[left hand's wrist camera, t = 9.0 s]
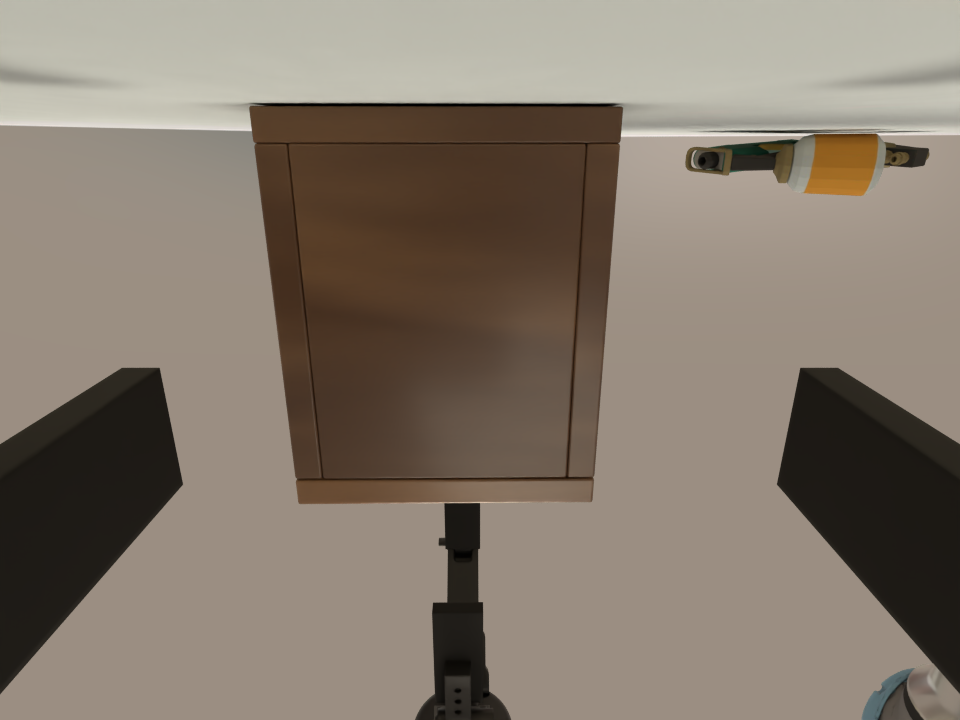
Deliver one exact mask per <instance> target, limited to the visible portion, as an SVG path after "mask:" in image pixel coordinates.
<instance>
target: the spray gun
mask: <svg viewBox="0 0 960 720" xmlns="http://www.w3.org/2000/svg"><path fill="white" fill-rule="evenodd" d="M694 150H697V151H696V153H695V155H694V158H693V159H694V164H695V166H696V167H697V168H701V169H697V168H693V167H692V166H691V158H692V153H693V152H694ZM928 157H929V149H928V148H916V147H909V146H901V145H895V144H894V143H888V142H883V140H882V139H881V138H880V136H879V135H878V134H813V135H808V136H804V137H803V138H801V139H800V140H793V139H790V140H778V141H770V142H759V143H747V144H735V145H723V146H716V147H709V148H704V147H693V148H690V149H689V150H688V152H687V155H686V168H687V169H688V170H689V171H694V172H703V173H713V174H721V175H729V172H737V171H749V170H773V173H774V174H775V176H776V178H777V181H778V183H786V182H787V184H788V185H789V186H790V187H791V189H792V190H794V191H797V192H800V193H811V194H832V195H854V196H862V195H866V194H867V193H868V192H869V191H871V190H872V189H873V188H874V187H875V186H876V185H877V183H878V181H879V179H880V176H881V174H882V171H883V168H886V167H890V166H898V167H918V166H924V165H925V162H926V160H927V159H928ZM706 169H709V170H706Z"/></svg>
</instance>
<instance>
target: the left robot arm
mask: <svg viewBox="0 0 960 720" xmlns="http://www.w3.org/2000/svg"><path fill="white" fill-rule="evenodd" d="M182 485H183V482H182V477H181V472H180V467H179V462H178V457H177V452H176V447H175V442H174V437H173V432H172V427H171V422H170V417H169V412H168V408H167V403H166V398H165V393H164V388H163V383H162V378H161V373H160V368H121V369H120V370H118V371H116V372H115V373H113V374H112V375H110V376H108V377H107V378H105V379H104V380H102V381H101V382H99V383H97V384H96V385H94V386H92V387H91V388H89V389H88V390H86V391H85V392H83V393H81V394H80V395H78V396H77V397H75V398H73V399H72V400H70V401H69V402H67V403H65V404H64V405H62V406H61V407H59V408H57V409H56V410H54V411H53V412H51V413H49V414H48V415H46V416H45V417H43V418H41V419H40V420H38V421H37V422H35V423H33V424H32V425H30V426H29V427H27V428H25V429H24V430H22V431H21V432H19V433H17V434H16V435H14V436H13V437H11V438H10V439H8V440H6V441H5V442H3V443H1V444H0V694H1V693H2V691H3V690H4V689H5V688H6V687H7V686H8V685H9V683H10V682H11V681H12V680H13V679H14V678H15V676H16V675H17V674H18V673H19V672H20V671H21V670H22V669H23V667H24V666H25V665H26V664H27V663H28V662H29V660H30V659H31V658H32V657H33V656H34V655H35V654H36V652H37V651H38V650H39V649H40V648H41V647H42V646H43V644H44V643H45V642H46V641H47V640H48V639H49V638H50V636H51V635H52V634H53V633H54V632H55V631H56V630H57V628H58V627H59V626H60V625H61V624H62V623H63V622H64V620H65V619H66V618H67V617H68V616H69V615H70V613H71V612H72V611H73V610H74V609H75V608H76V607H77V605H78V604H79V603H80V602H81V601H82V600H83V599H84V597H85V596H86V595H87V594H88V593H89V592H90V591H91V589H92V588H93V587H94V586H95V585H96V584H97V582H98V581H99V580H100V579H101V578H102V577H103V576H104V574H105V573H106V572H107V571H108V570H109V569H110V568H111V566H112V565H113V564H114V563H115V562H116V561H117V560H118V558H119V557H120V556H121V555H122V554H123V553H124V552H125V550H126V549H127V548H128V547H129V546H130V545H131V543H132V542H133V541H134V540H135V539H136V538H137V537H138V535H139V534H140V533H141V532H142V531H143V530H144V529H145V527H146V526H147V525H148V524H149V523H150V522H151V521H152V519H153V518H154V517H155V516H156V515H157V514H158V513H159V511H160V510H161V509H162V508H163V507H164V506H165V504H166V503H167V502H168V501H169V500H170V499H171V498H172V496H173V495H174V494H175V493H176V492H177V491H178V490H179V488H180V487H181V486H182ZM777 485H778V486H779V487H780V488H781V490H782V491H783V492H784V493H785V494H786V495H787V496H788V498H789V499H790V500H791V501H792V502H793V503H794V504H795V506H796V507H797V508H798V509H799V510H800V511H801V512H802V514H803V515H804V516H805V517H806V518H807V519H808V521H809V522H810V523H811V524H812V525H813V526H814V527H815V529H816V530H817V531H818V532H819V533H820V534H821V535H822V537H823V538H824V539H825V540H826V541H827V542H828V544H829V545H830V546H831V547H832V548H833V549H834V550H835V552H836V553H837V554H838V555H839V556H840V557H841V558H842V559H843V561H844V562H845V563H846V564H847V565H848V566H849V568H850V569H851V570H852V571H853V572H854V573H855V574H856V576H857V577H858V578H859V579H860V580H861V581H862V583H863V584H864V585H865V586H866V587H867V588H868V589H869V591H870V592H871V593H872V594H873V595H874V596H875V597H876V598H877V600H878V601H879V602H880V603H881V604H882V605H883V607H884V608H885V609H886V610H887V611H888V612H889V613H890V615H891V616H892V617H893V618H894V619H895V620H896V622H897V623H898V624H899V625H900V626H901V627H902V628H903V630H904V631H905V632H906V633H907V634H908V635H909V636H910V638H911V639H912V640H913V641H914V642H915V643H916V644H917V646H918V647H919V648H920V649H921V650H922V651H923V652H924V654H925V655H926V656H927V657H928V658H929V659H930V660H931V662H932V663H933V664H934V665H935V666H936V667H937V669H938V670H939V671H940V672H941V673H942V674H943V675H944V677H945V678H946V679H947V680H948V681H949V682H950V683H951V685H952V686H953V687H954V688H955V689H956V690H957V691H958V693H959V694H960V444H959V443H957V442H955V441H954V440H952V439H950V438H949V437H947V436H946V435H944V434H943V433H941V432H939V431H938V430H936V429H935V428H933V427H931V426H930V425H928V424H927V423H925V422H923V421H922V420H920V419H919V418H917V417H915V416H914V415H912V414H911V413H909V412H907V411H906V410H904V409H903V408H901V407H899V406H898V405H896V404H895V403H893V402H891V401H890V400H888V399H887V398H885V397H883V396H882V395H880V394H879V393H877V392H875V391H874V390H872V389H871V388H869V387H868V386H866V385H864V384H863V383H861V382H860V381H858V380H856V379H855V378H853V377H852V376H850V375H848V374H847V373H845V372H844V371H842V370H840V369H839V368H800V373H799V378H798V383H797V388H796V393H795V398H794V403H793V408H792V412H791V418H790V422H789V428H788V432H787V437H786V442H785V447H784V452H783V457H782V462H781V467H780V472H779V477H778V482H777Z"/></svg>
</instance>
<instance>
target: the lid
mask: <svg viewBox="0 0 960 720" xmlns="http://www.w3.org/2000/svg"><path fill="white" fill-rule="evenodd" d="M593 485H594V479H593V477H568V476H566V477H495V478H332V479H325V478H324V477H322V478H305V479H298V478H297V480H296V486H297V494H298V502H299V504H376V503H378V504H380V503H529V502H530V503H531V502H592V498H593Z"/></svg>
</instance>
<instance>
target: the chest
mask: <svg viewBox="0 0 960 720" xmlns="http://www.w3.org/2000/svg"><path fill="white" fill-rule="evenodd" d="M249 110H250V118H251V126H252V134H253V141H254V142H255V143H256V144H255V155H256V163H257V171H258V179H259V187H260V195H261V203H262V211H263V219H264V227H265V235H266V243H267V251H268V259H269V267H270V275H271V284H272V292H273V300H274V308H275V316H276V324H277V332H278V340H279V348H280V356H281V364H282V372H283V380H284V388H285V397H286V405H287V413H288V421H289V429H290V437H291V445H292V453H293V461H294V469H295V476H296V478H298V479H305V478H322V477H324V478H325V479H332V478H495V477H566V476H568V477H593V476H594V472H595V460H596V446H597V434H598V421H599V408H600V395H601V382H602V369H603V357H604V344H605V331H606V318H607V305H608V292H609V279H610V266H611V253H612V240H613V227H614V215H615V202H616V189H617V176H618V163H619V150H620V145H619V144H618V143H619V142H620V139H621V126H622V113H623V108H622V107H601V106H250V108H249Z"/></svg>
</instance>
